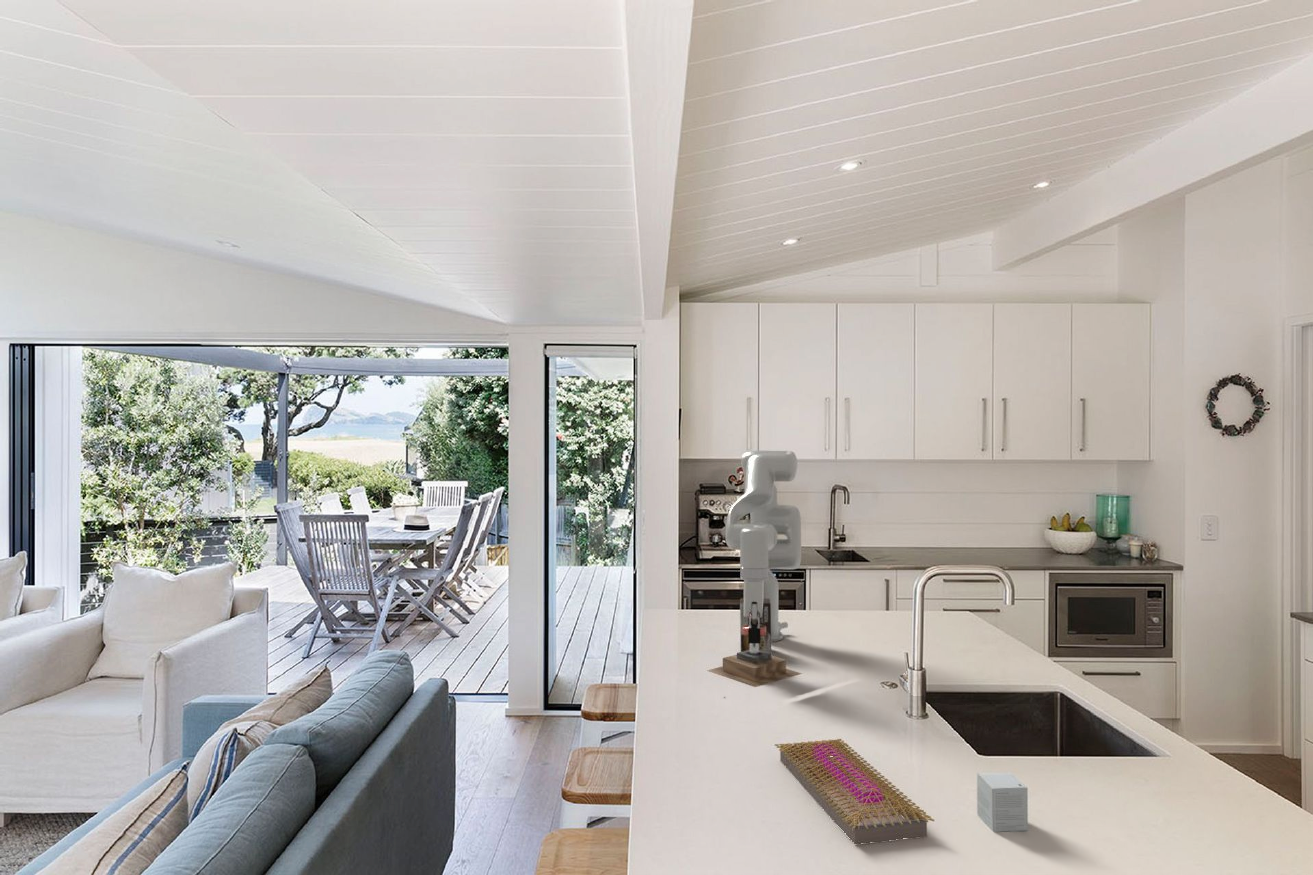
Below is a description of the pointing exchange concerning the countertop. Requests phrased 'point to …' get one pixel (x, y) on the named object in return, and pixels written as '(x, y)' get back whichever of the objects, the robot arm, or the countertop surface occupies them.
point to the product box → (1002, 802)
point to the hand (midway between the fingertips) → (754, 638)
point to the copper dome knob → (754, 646)
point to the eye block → (754, 668)
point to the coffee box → (764, 620)
